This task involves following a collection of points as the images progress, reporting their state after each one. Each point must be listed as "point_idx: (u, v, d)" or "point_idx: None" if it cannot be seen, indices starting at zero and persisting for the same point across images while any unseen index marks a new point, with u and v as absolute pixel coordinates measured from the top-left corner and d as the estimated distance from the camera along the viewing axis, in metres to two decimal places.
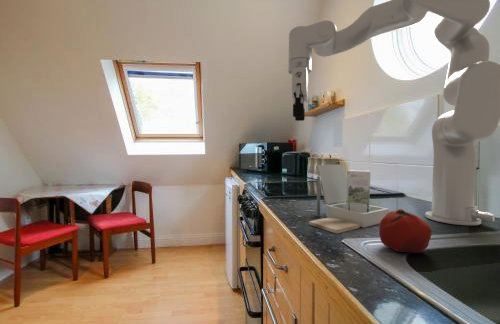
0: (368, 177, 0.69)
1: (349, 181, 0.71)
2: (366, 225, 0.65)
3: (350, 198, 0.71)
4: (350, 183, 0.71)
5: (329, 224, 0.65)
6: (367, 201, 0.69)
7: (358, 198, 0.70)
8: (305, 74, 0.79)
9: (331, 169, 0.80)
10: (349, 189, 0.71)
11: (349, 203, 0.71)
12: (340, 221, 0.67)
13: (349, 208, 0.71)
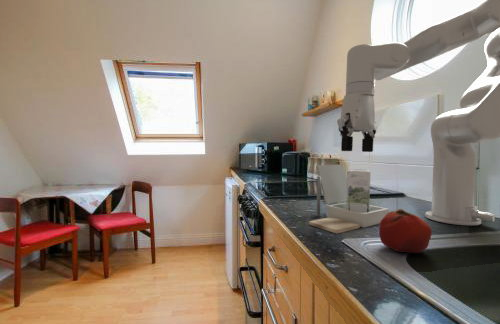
0: (368, 177, 0.69)
1: (349, 181, 0.71)
2: (366, 225, 0.65)
3: (350, 198, 0.71)
4: (350, 183, 0.71)
5: (329, 224, 0.65)
6: (367, 201, 0.69)
7: (358, 198, 0.70)
8: None
9: (331, 169, 0.80)
10: (349, 189, 0.71)
11: (349, 203, 0.71)
12: (340, 221, 0.67)
13: (349, 208, 0.71)
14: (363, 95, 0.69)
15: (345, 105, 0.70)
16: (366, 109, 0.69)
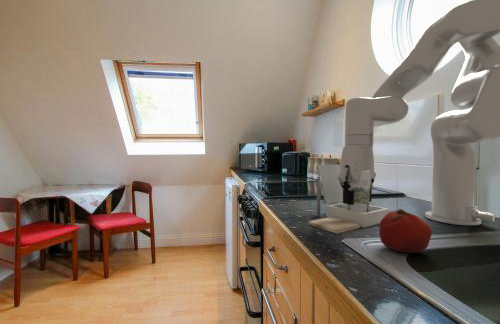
0: (368, 177, 0.69)
1: None
2: (366, 225, 0.65)
3: None
4: (349, 183, 0.71)
5: (329, 224, 0.65)
6: (367, 201, 0.69)
7: (358, 198, 0.70)
8: None
9: (331, 169, 0.80)
10: None
11: None
12: (340, 221, 0.67)
13: (349, 208, 0.71)
14: (362, 147, 0.69)
15: (344, 157, 0.70)
16: (365, 161, 0.70)
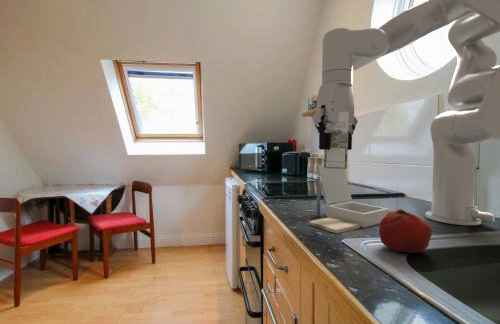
0: (346, 118, 0.61)
1: None
2: (366, 225, 0.65)
3: None
4: None
5: (329, 224, 0.65)
6: (345, 145, 0.62)
7: (335, 142, 0.62)
8: None
9: (331, 169, 0.80)
10: None
11: None
12: (340, 221, 0.67)
13: (326, 154, 0.63)
14: (340, 85, 0.62)
15: (320, 96, 0.63)
16: (343, 101, 0.62)
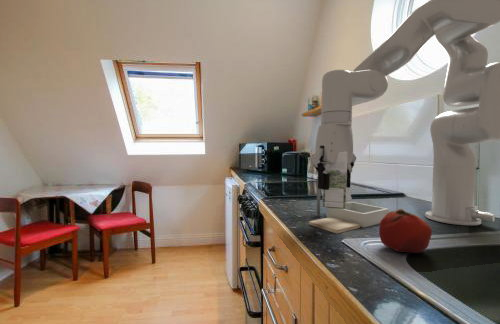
0: (345, 159, 0.62)
1: None
2: (366, 225, 0.65)
3: None
4: None
5: (329, 224, 0.65)
6: (344, 186, 0.62)
7: (334, 182, 0.63)
8: None
9: None
10: None
11: None
12: (340, 221, 0.67)
13: (324, 194, 0.64)
14: (339, 126, 0.62)
15: (319, 136, 0.63)
16: (342, 141, 0.63)
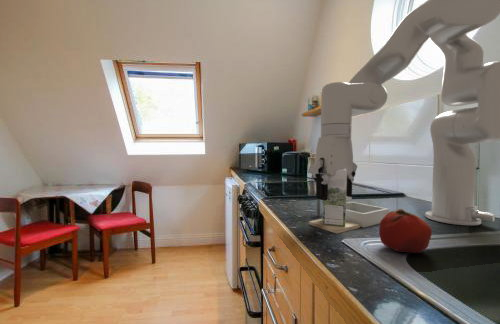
0: (344, 176, 0.62)
1: None
2: (366, 225, 0.65)
3: (325, 200, 0.64)
4: None
5: None
6: (343, 203, 0.62)
7: (333, 199, 0.63)
8: None
9: None
10: None
11: (324, 205, 0.64)
12: None
13: (324, 211, 0.64)
14: (338, 138, 0.62)
15: (319, 149, 0.63)
16: (342, 153, 0.63)
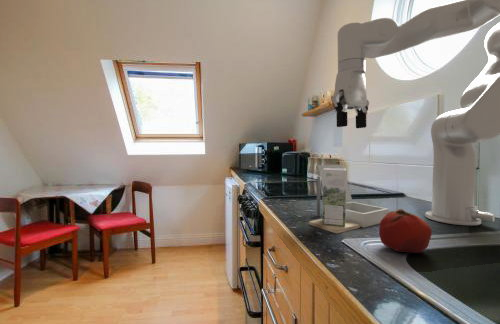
0: (344, 176, 0.62)
1: (324, 181, 0.64)
2: (366, 225, 0.65)
3: (325, 200, 0.64)
4: (324, 183, 0.63)
5: None
6: (343, 203, 0.62)
7: (333, 199, 0.63)
8: None
9: None
10: (324, 190, 0.64)
11: (324, 205, 0.64)
12: None
13: (324, 211, 0.64)
14: (355, 72, 0.71)
15: (338, 82, 0.72)
16: (358, 86, 0.72)
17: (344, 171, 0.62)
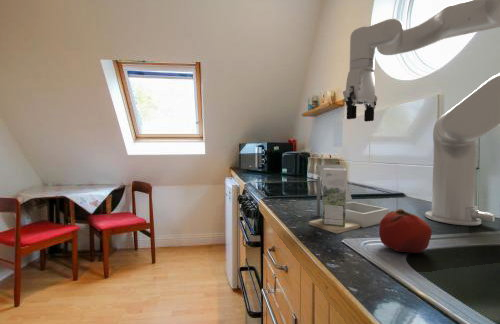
0: (344, 176, 0.62)
1: (324, 181, 0.64)
2: (366, 225, 0.65)
3: (325, 200, 0.64)
4: (324, 183, 0.63)
5: None
6: (343, 203, 0.62)
7: (333, 199, 0.63)
8: None
9: None
10: (324, 190, 0.64)
11: (324, 205, 0.64)
12: None
13: (324, 211, 0.64)
14: (365, 70, 0.80)
15: (349, 79, 0.81)
16: (367, 83, 0.81)
17: (344, 171, 0.62)
